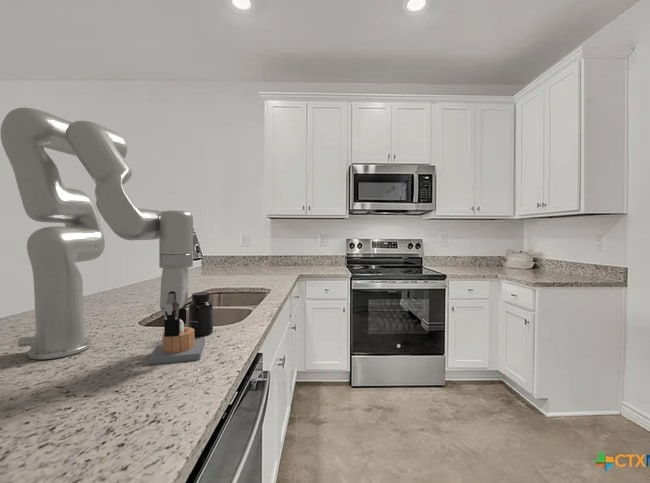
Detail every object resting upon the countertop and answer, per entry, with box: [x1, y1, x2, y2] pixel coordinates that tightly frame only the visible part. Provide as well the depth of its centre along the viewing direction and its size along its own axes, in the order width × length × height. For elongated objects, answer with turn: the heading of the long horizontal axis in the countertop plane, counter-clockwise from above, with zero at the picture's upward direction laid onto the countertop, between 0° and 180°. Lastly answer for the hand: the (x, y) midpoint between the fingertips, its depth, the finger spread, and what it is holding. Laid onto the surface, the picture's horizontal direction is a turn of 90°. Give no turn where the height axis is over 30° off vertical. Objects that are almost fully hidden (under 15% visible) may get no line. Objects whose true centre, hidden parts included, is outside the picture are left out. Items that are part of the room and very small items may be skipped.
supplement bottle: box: [187, 291, 214, 338], centre depth 95 cm, size 7×7×12 cm
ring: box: [162, 326, 195, 353], centre depth 80 cm, size 7×7×4 cm
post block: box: [147, 319, 206, 366], centre depth 80 cm, size 11×11×8 cm
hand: (176, 329), depth 80 cm, fingers open, 9 cm apart
